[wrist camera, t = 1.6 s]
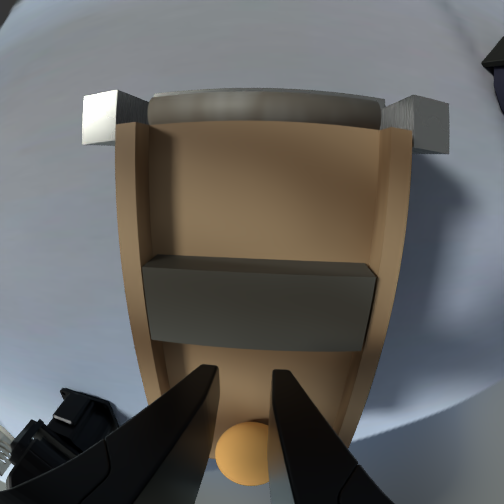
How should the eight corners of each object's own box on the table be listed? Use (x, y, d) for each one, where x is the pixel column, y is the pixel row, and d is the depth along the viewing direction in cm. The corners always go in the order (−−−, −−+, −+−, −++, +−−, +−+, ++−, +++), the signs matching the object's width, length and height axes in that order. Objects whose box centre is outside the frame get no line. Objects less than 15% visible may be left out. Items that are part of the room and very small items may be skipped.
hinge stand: (378, 178, 18) (446, 193, 9) (158, 171, 19) (82, 182, 10) (379, 102, 16) (446, 68, 8) (159, 96, 17) (87, 63, 9)
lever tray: (331, 448, 16) (335, 481, 13) (176, 438, 17) (166, 469, 14) (388, 107, 10) (415, 95, 8) (144, 102, 11) (113, 90, 8)
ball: (283, 448, 14) (283, 497, 11) (222, 444, 15) (212, 492, 11) (290, 409, 13) (290, 465, 10) (219, 405, 14) (206, 459, 10)
